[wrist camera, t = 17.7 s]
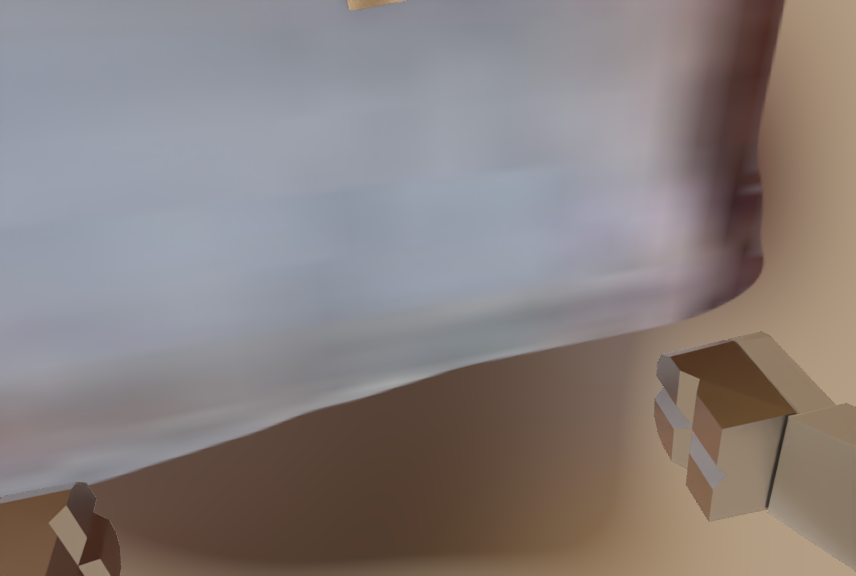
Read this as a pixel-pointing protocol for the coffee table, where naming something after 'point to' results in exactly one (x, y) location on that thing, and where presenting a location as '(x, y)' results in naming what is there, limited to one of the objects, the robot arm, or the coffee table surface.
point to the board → (368, 3)
